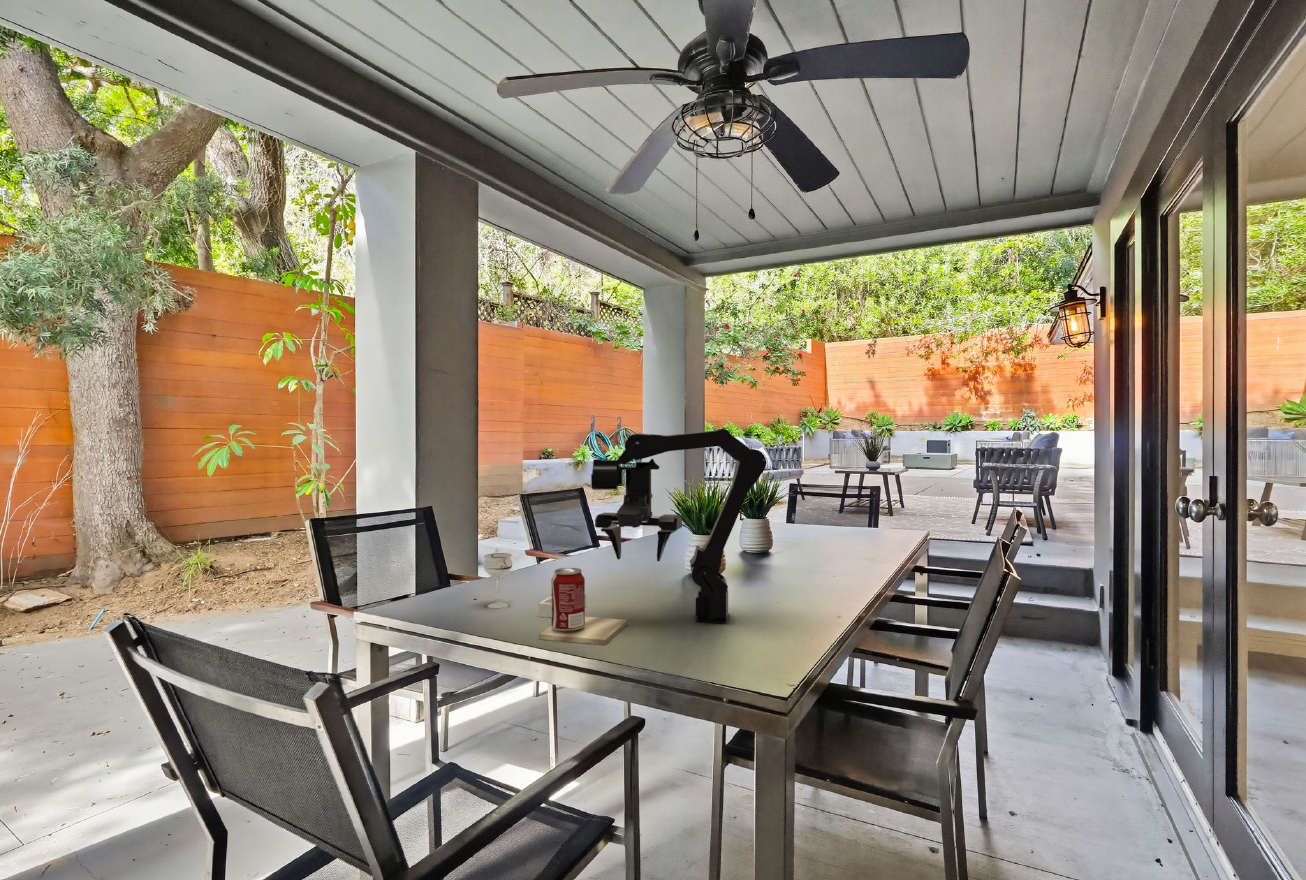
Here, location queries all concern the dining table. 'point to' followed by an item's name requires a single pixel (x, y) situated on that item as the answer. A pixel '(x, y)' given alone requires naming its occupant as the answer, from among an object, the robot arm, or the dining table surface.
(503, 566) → the wineglass
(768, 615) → the dining table surface
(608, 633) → the pad
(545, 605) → the block
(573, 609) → the soda can
